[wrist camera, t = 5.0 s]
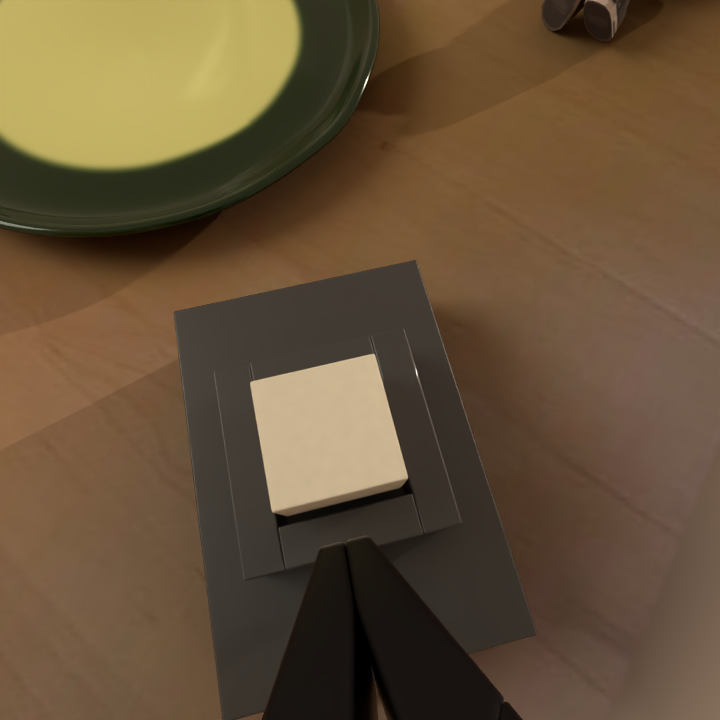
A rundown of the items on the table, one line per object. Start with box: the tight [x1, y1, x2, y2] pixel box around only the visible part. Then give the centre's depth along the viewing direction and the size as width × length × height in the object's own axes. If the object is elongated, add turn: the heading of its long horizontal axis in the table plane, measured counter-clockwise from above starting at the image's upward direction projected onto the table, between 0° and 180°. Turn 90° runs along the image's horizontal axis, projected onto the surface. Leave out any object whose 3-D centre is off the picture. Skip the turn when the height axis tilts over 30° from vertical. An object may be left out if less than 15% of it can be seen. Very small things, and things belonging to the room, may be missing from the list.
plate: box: [0, 0, 380, 238], centre depth 28 cm, size 28×28×2 cm
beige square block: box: [250, 354, 408, 516], centre depth 14 cm, size 4×4×2 cm
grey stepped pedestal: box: [174, 260, 537, 720], centre depth 18 cm, size 14×10×6 cm
